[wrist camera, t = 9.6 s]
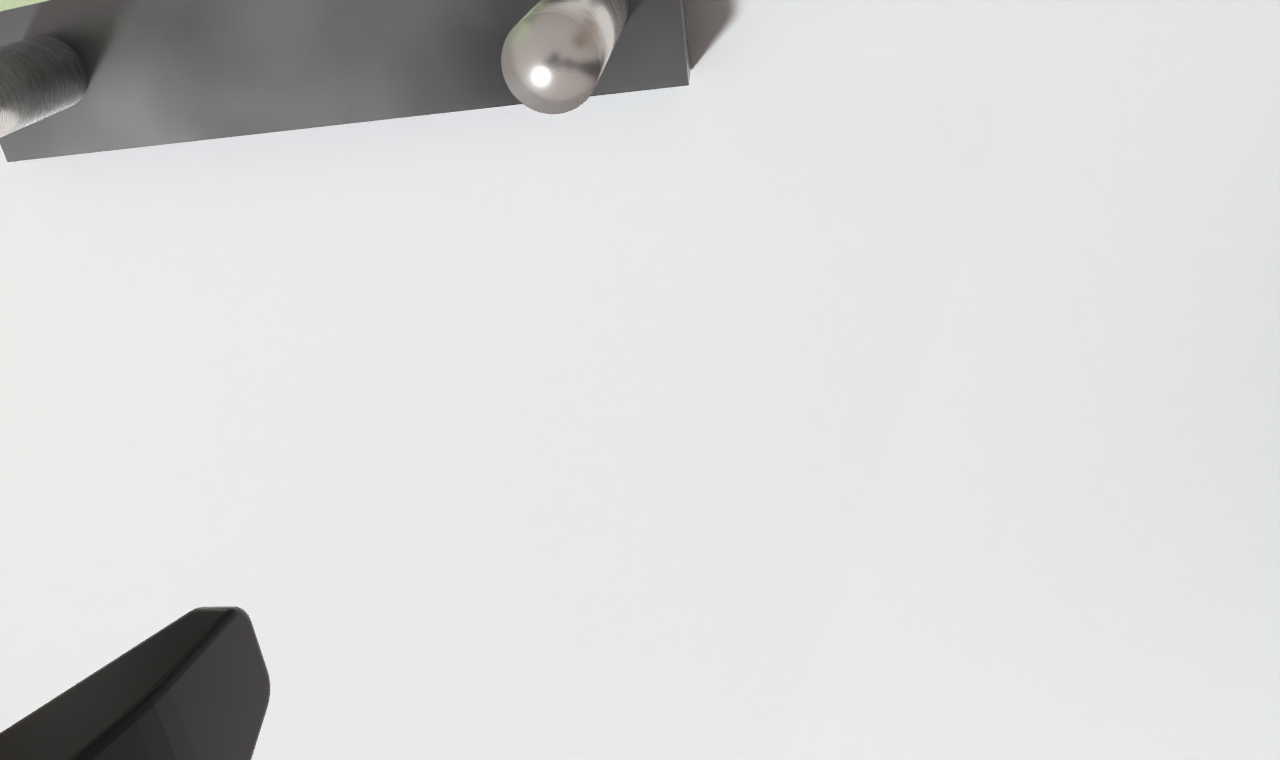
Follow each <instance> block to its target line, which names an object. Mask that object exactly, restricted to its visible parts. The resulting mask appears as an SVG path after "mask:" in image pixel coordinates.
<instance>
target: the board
mask: <svg viewBox="0 0 1280 760" xmlns="http://www.w3.org/2000/svg"><path fill="white" fill-rule="evenodd" d="M44 1H49V0H0V11H4V10H9V9H13V8H18V7H22V6H27V5H31V4H35V3H40V2H44Z"/></svg>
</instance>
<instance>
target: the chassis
mask: <svg viewBox="0 0 1280 760" xmlns="http://www.w3.org/2000/svg"><path fill="white" fill-rule="evenodd" d="M689 79H690V64H689V54H688V45H687V35H686V25H685V16H684V6H683V0H49V1H44V2H40V3H35V4H31V5H27V6H22V7H18V8H13V9H9V10H4V11H0V144H1V147H2V149H3V152H4V154H5V157H6V159H7V162H12V161H21V160H30V159H39V158H47V157H56V156H65V155H74V154H83V153H92V152H101V151H110V150H118V149H127V148H136V147H145V146H154V145H163V144H172V143H180V142H189V141H198V140H207V139H216V138H225V137H234V136H242V135H251V134H260V133H269V132H278V131H287V130H296V129H305V128H313V127H322V126H331V125H340V124H349V123H358V122H367V121H375V120H384V119H393V118H402V117H411V116H420V115H429V114H437V113H446V112H455V111H464V110H473V109H482V108H491V107H500V106H508V105H517V104H524V105H526V106H527V107H529V108H531V109H533V110H535V111H538V112H541V113H546V114H560V113H565V112H568V111H571V110H573V109H575V108H577V107H578V106H580V105H581V104H583V103H584V102H585V101H586V100H587V99H588V98H589V96H597V95H606V94H615V93H624V92H632V91H641V90H650V89H659V88H668V87H677V86H686V85H689Z"/></svg>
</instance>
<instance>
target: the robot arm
mask: <svg viewBox="0 0 1280 760" xmlns="http://www.w3.org/2000/svg"><path fill="white" fill-rule="evenodd" d="M269 696H270V680H269V675H268V671H267V668H266V665H265V662H264V659H263V656H262V653H261V650H260V647H259V644H258V641H257V638H256V635H255V631H254V628H253V625H252V622H251V620H250V618H249V615H248V614H247V613H246V612H245V611H244V610H243V609H241V608H238V607H200V608H196V609H194V610H192V611H190V612H188V613H187V614H185V615H184V616H182V617H181V618H179V619H178V620H176V621H174V622H173V623H171V624H170V625H168V626H167V627H165V628H164V629H162V630H160V631H159V632H157V633H156V634H154V635H153V636H151V637H149V638H148V639H146V640H145V641H143V642H142V643H140V644H139V645H137V646H135V647H134V648H132V649H131V650H129V651H128V652H126V653H124V654H123V655H121V656H120V657H118V658H117V659H115V660H114V661H112V662H110V663H109V664H107V665H106V666H104V667H103V668H101V669H100V670H98V671H96V672H95V673H93V674H92V675H90V676H89V677H87V678H85V679H84V680H82V681H81V682H79V683H78V684H76V685H75V686H73V687H71V688H70V689H68V690H67V691H65V692H64V693H62V694H60V695H59V696H57V697H56V698H54V699H53V700H51V701H50V702H48V703H46V704H45V705H43V706H42V707H40V708H39V709H37V710H36V711H34V712H32V713H31V714H29V715H28V716H26V717H25V718H23V719H21V720H20V721H18V722H17V723H15V724H14V725H12V726H11V727H9V728H7V729H6V730H4V731H3V732H1V733H0V760H251V758H252V755H253V752H254V749H255V745H256V742H257V739H258V736H259V732H260V729H261V726H262V723H263V719H264V716H265V713H266V710H267V706H268V702H269Z"/></svg>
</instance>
